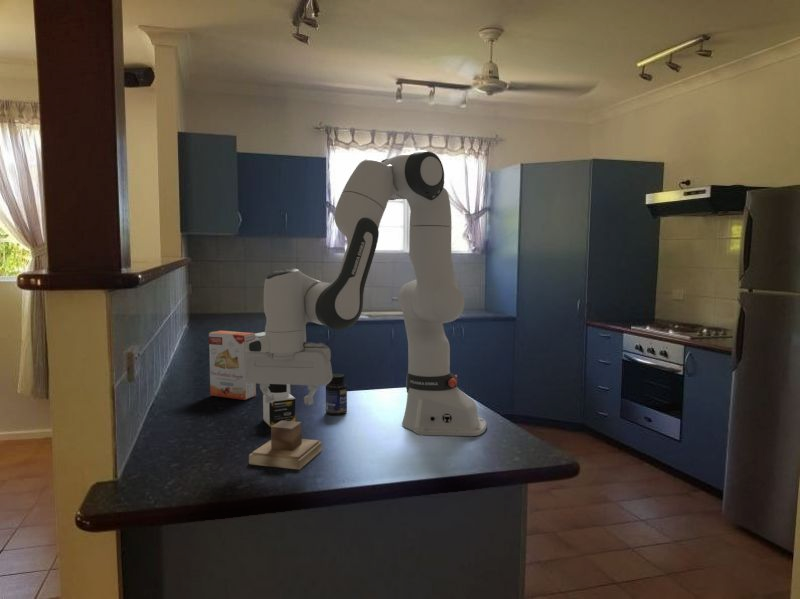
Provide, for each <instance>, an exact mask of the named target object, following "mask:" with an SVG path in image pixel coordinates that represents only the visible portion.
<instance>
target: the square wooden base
mask: <svg viewBox="0 0 800 599" xmlns="http://www.w3.org/2000/svg"><path fill="white" fill-rule="evenodd" d="M322 451H323V442H322V441H320V440H318V439H307V438H302V444H301V445H299V446H298V447H297V448H295V449H294V450H293V451H287V450H277V449H271V439H270V440H268V441H267V442H265V443H264V444H263V445H261V446H259V447H258V448H256V449H255V450H253V451H252V452H251V453H249V455H248V464H249V465H252V466H253V465H254V466H264V467H273V468H281V469H282V468H283V469H291V470H301V469H303V468H304V467H305V466H306V465H307V464H308V463H310V461H311V460H313V459H314V458H315V457H316V456H318V454H320V453H321V452H322Z"/></svg>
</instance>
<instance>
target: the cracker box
mask: <svg viewBox="0 0 800 599" xmlns="http://www.w3.org/2000/svg"><path fill="white" fill-rule="evenodd" d="M252 340H255V332H246V331H245V332H242V331H233V330H231V331H230V330H216V331H211V332H209V333H208V344H209V345H208V349H209V389H210V391H209V392H210V394H209V395H210V397H211V396H212V397H213V396H214V397H220V398H227V399H235V400H241V401H242V400H243V401H247V400H249V399H251V398H254V397H257V383H247V382H246V380H245V379H244V369H243V368H244V357H245V355H246V354H247V353H248V352H247V351H246V350H245V344H246V343H247V342H249V341H252Z"/></svg>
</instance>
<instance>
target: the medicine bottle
mask: <svg viewBox="0 0 800 599" xmlns="http://www.w3.org/2000/svg"><path fill="white" fill-rule="evenodd" d="M268 388H269V390H270V392H271V394H275V397H274V398H275V401H274V402H273V403H266V402H265V396H264V394H263V395H262V408H263V409H262V411H263V412H262V414H263V416H262V417H263V421H264V422H265V423H266V424H267V425H268V426H269V427H270V428H271V427H272V426H273V425H275V424H276V423H278V422H280V421H281V420H283V421H294V422H296V397H295V396H293V395H292V394H291V385H287V384H270V386H268Z"/></svg>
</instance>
